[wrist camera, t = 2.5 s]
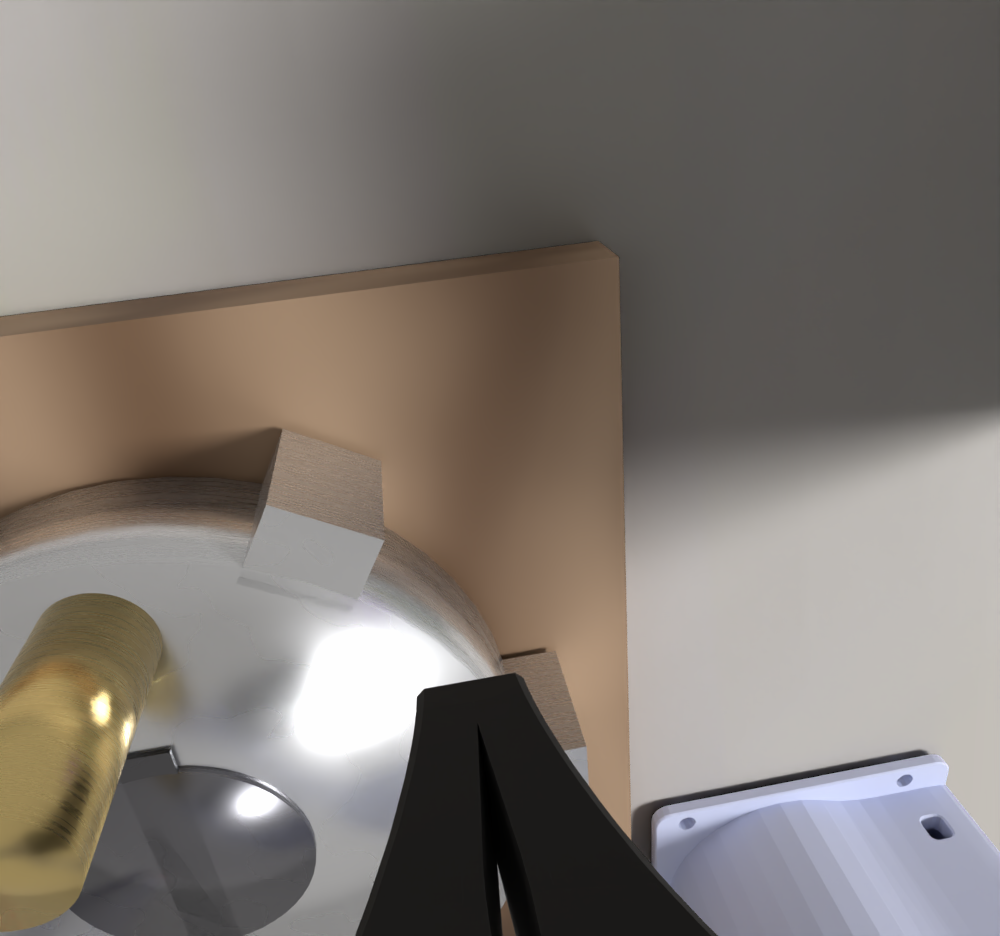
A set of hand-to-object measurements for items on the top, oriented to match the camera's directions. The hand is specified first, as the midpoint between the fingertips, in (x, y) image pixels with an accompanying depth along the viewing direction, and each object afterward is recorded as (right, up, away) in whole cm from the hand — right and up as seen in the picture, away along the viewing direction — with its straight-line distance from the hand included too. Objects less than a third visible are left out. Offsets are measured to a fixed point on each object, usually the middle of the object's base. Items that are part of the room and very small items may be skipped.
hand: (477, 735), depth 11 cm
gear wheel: (-6, -3, +8) cm, 10 cm away
